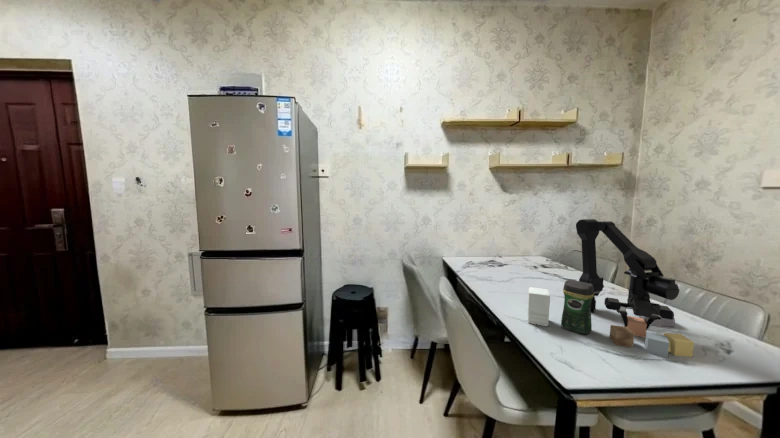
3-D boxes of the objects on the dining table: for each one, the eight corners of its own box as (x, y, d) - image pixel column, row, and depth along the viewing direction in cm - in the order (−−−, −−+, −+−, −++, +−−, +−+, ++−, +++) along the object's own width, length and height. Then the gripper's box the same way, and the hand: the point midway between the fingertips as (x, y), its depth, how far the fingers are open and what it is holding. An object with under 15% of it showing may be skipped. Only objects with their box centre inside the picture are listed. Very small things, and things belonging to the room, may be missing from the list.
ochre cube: (674, 355, 92) (676, 340, 92) (662, 346, 97) (663, 333, 97) (692, 356, 92) (694, 342, 91) (679, 348, 97) (680, 334, 96)
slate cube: (646, 352, 94) (648, 338, 94) (644, 345, 98) (646, 331, 98) (667, 357, 91) (669, 343, 91) (664, 350, 95) (666, 336, 95)
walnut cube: (615, 345, 98) (616, 331, 98) (609, 338, 103) (610, 324, 102) (632, 348, 97) (634, 334, 96) (626, 340, 102) (627, 326, 101)
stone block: (648, 330, 112) (678, 327, 110) (647, 318, 112) (677, 315, 110) (629, 317, 124) (656, 314, 122) (628, 306, 124) (654, 303, 121)
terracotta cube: (627, 333, 106) (628, 321, 105) (624, 327, 110) (625, 315, 109) (645, 337, 103) (646, 324, 103) (641, 331, 108) (642, 318, 107)
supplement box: (547, 319, 118) (549, 289, 116) (548, 327, 111) (550, 295, 109) (527, 315, 121) (528, 286, 119) (527, 323, 114) (528, 292, 112)
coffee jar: (593, 329, 109) (597, 282, 107) (587, 337, 103) (592, 287, 101) (564, 321, 116) (567, 276, 114) (558, 327, 110) (561, 281, 108)
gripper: (611, 292, 102) (607, 333, 104) (683, 302, 93) (677, 347, 95) (605, 282, 112) (602, 320, 114) (670, 290, 103) (665, 332, 105)
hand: (634, 329), depth 107 cm, fingers closed on terracotta cube, 5 cm apart
